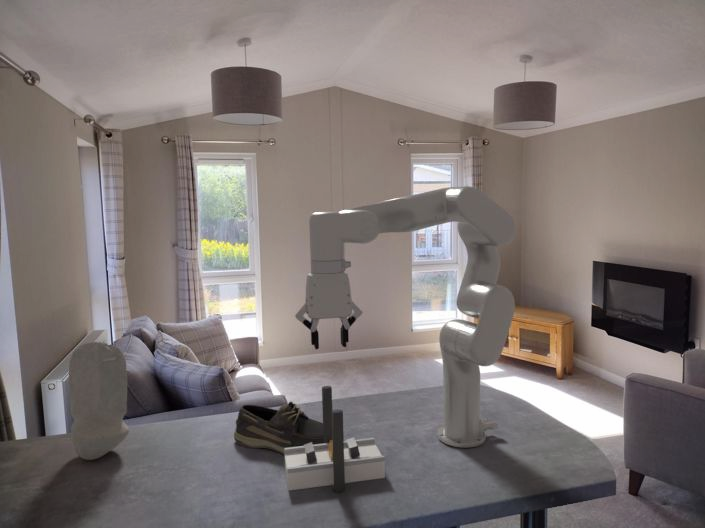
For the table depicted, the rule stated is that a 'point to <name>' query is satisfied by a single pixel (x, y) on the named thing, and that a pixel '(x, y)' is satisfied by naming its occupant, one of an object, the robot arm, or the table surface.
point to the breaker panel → (322, 469)
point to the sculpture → (97, 398)
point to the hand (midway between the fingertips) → (330, 345)
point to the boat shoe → (276, 428)
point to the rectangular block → (331, 448)
